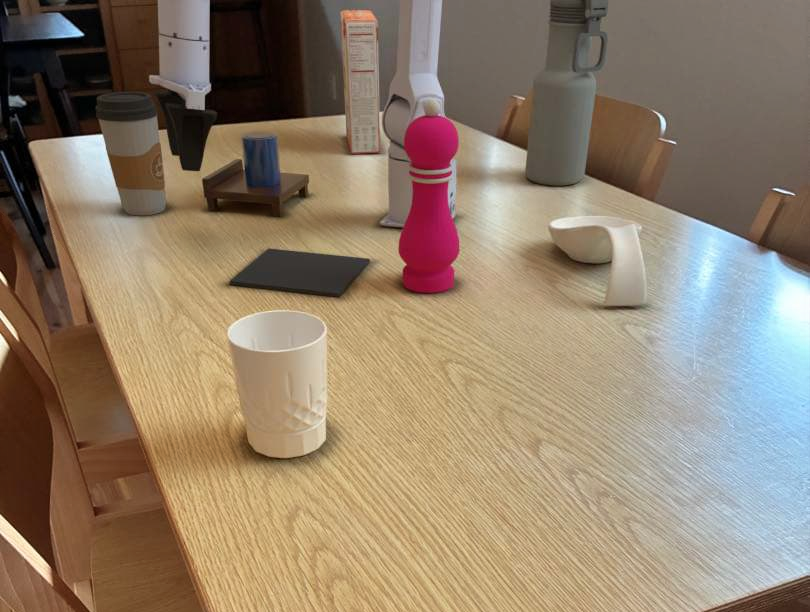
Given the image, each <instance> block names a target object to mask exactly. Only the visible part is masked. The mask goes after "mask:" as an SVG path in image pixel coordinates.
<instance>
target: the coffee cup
mask: <svg viewBox="0 0 810 612" xmlns="http://www.w3.org/2000/svg"><path fill="white" fill-rule="evenodd" d="M95 111H96V118H97V119H98V122H99V126H100V131H101V132H102V133H101V134H102V137H103V141H104V145H105V151H106V154H107V159H108V161H109V165H110V170H111V172H112V173H111V174H112V176H113V180H114V184H115V187H116V188H117V189H116V190H117V193H118V196H119V199H120V203H121V207H122V209H124V211H125V213H126V214H128V215H133V216H151V215H156V214H159V213H160V214H161V213H162V212H164V211H165V210H166V206H167V197H166V196H167V194H166V181H165V171H164V163H163V154H162V153H163V151H162V144H161V142H160V132H159V131H160V130H159V122H158V115H159V112H158V109H157V104H156V103H155V102H154V101H153V98H152V95H151V94H150V93H147V92H143V91H142V92H140V91H120V92H119V91H118V92H109V93H105V94H101V95H98V96H97V97H96V105H95Z"/></svg>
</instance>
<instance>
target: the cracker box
mask: <svg viewBox="0 0 810 612" xmlns="http://www.w3.org/2000/svg"><path fill="white" fill-rule="evenodd" d="M339 13H340V35H341V37H340V38H341V53H342V56H341V57H342V73H343V74H342V75H343V94H344V112H345V113H344V114H345V133H346V138H347V143H348V147H349V152H350V155H363V154H381V148H382V147H381V115H380V113H381V111H380V72H379V71H380V70H379V25H378V19H377V18H376V16H375V15H374V14H373V12H372V10H368V9H362V10H359V9H344V10H340V12H339Z"/></svg>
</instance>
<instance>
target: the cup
mask: <svg viewBox="0 0 810 612" xmlns="http://www.w3.org/2000/svg"><path fill="white" fill-rule="evenodd" d="M240 141H241V149H242V160H243V169H244V170H245V177H246V184H247V185H249V186H253V187H270V186H275V185H278V184H280V183H281V177H280V173H281V166H280V155H279V154H280V153H279V144H278V135H277V133H275V132H274V131H273V132H272V131H266V130H265V131H264V130H263V131H262V130H261V131H259V130H257V131H248V132H244V133H242V134H241V135H240Z"/></svg>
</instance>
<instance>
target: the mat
mask: <svg viewBox="0 0 810 612" xmlns="http://www.w3.org/2000/svg"><path fill="white" fill-rule="evenodd" d="M370 262H371V261H370V258H367V257H356V256H347V255H346V256H345V255H335V254H326V253H318V252H307V251H297V250H289V249H280V248H279V249H278V248H267V249H266V250H265V251H263V252H262V253H261V254H260V255H259V256H258V257H256V258H255V259H254V260H253V261H251V262H250V263H249V264H248V265H247V266H246V267H244V268H243V269H242V270H241V271H239V273H237V274H236V275H235V276H234V277H232V278H231V279H230V280H229V285H230V286H238V287H247V288H253V289H263V290H271V291H272V290H273V291H280V292H281V291H282V292H289V293H290V292H291V293H299V294H307V295H317V296H324V297H334V298H341V296H342V294H344V292H346V291H347V289H348V288H349V287H350V285H351V284H352V283H353V282H354V281H355V280H356V279H357V278H358V277H359V276H360V274H361V273H362V272H363V271H364V269H365V268H366V267H367V266H368V265H369V264H370Z"/></svg>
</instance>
